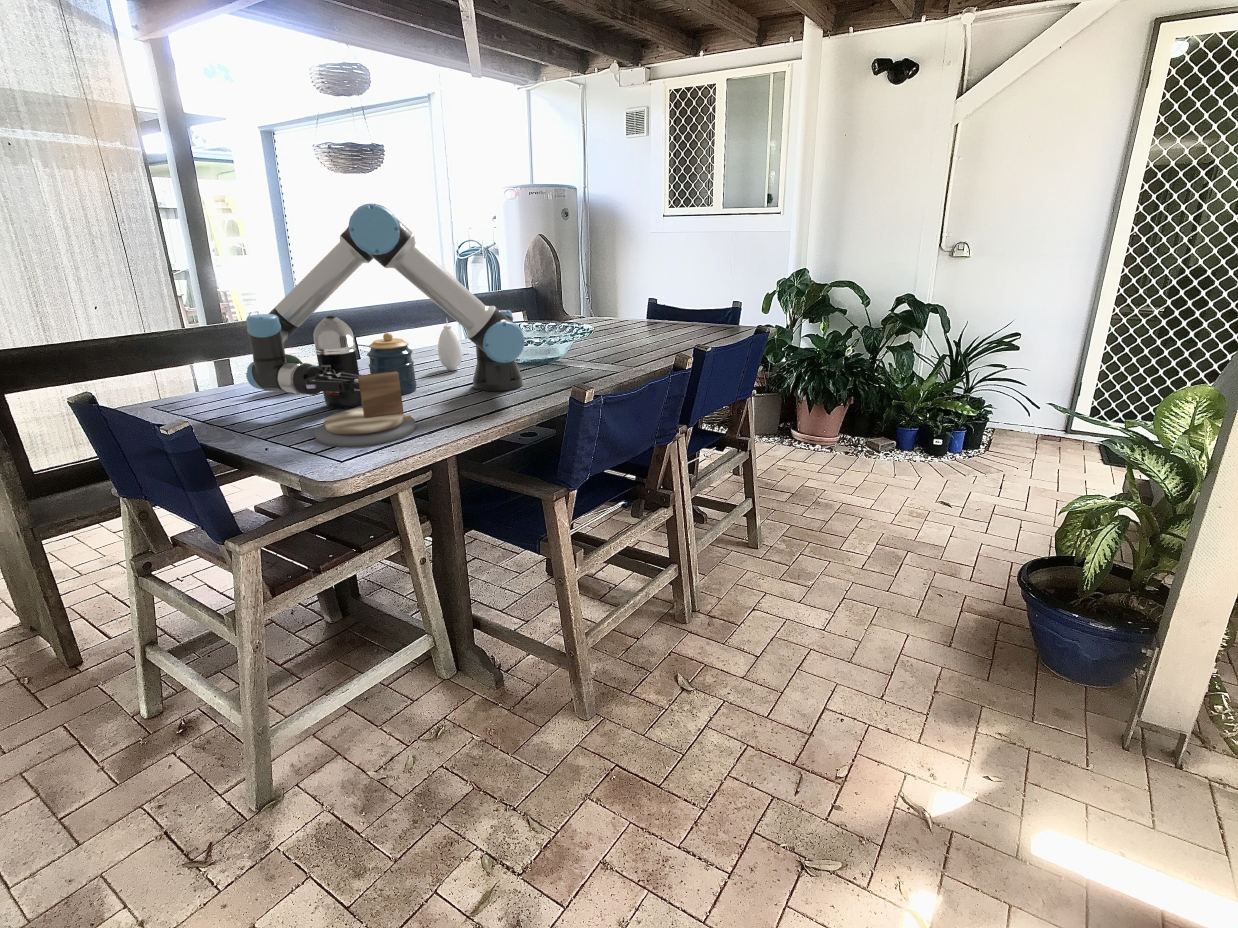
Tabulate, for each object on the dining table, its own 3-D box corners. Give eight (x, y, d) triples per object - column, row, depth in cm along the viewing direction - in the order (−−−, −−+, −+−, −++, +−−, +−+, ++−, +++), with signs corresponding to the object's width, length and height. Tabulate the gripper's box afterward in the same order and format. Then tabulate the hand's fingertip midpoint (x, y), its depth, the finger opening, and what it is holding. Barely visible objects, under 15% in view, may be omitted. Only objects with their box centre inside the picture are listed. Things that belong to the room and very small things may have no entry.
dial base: (419, 415, 171) (418, 409, 170) (411, 442, 149) (410, 434, 149) (326, 421, 166) (325, 414, 166) (305, 450, 145) (303, 442, 144)
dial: (411, 426, 154) (405, 379, 150) (329, 438, 146) (321, 388, 142) (396, 409, 168) (390, 365, 164) (321, 419, 160) (313, 373, 156)
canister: (392, 398, 188) (384, 337, 182) (363, 393, 195) (354, 334, 189) (426, 389, 199) (419, 331, 193) (397, 384, 205) (390, 328, 199)
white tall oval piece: (455, 373, 220) (449, 319, 214) (435, 371, 222) (429, 318, 216) (467, 368, 227) (462, 316, 220) (448, 367, 229) (443, 315, 223)
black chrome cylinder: (350, 410, 176) (335, 317, 167) (317, 409, 178) (300, 317, 169) (371, 401, 185) (358, 312, 177) (339, 399, 187) (324, 312, 179)
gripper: (324, 387, 173) (398, 394, 165) (284, 399, 160) (362, 407, 153) (320, 359, 170) (395, 365, 163) (278, 370, 158) (358, 376, 151)
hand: (379, 386), depth 158 cm, fingers closed
